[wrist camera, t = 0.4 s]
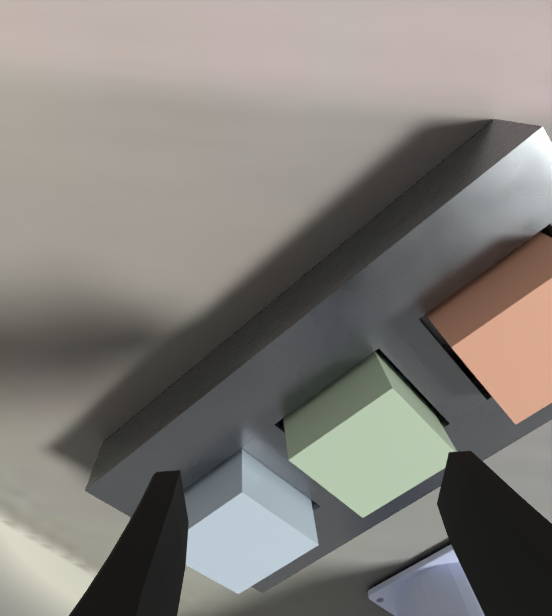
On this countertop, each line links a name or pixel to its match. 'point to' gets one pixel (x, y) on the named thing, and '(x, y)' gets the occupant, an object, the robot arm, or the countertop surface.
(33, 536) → the countertop surface
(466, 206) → the button panel
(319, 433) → the sage button
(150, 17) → the countertop surface
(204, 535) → the blue-grey button
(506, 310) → the terracotta button
